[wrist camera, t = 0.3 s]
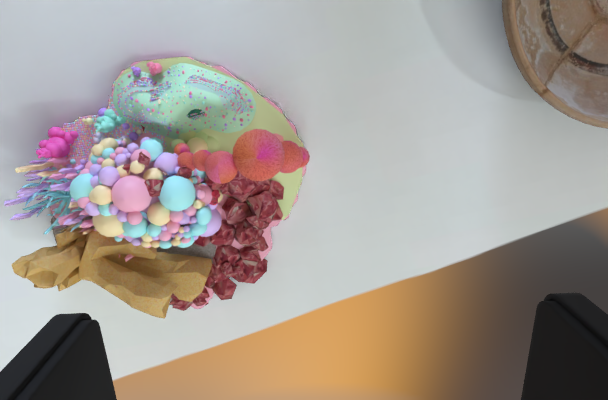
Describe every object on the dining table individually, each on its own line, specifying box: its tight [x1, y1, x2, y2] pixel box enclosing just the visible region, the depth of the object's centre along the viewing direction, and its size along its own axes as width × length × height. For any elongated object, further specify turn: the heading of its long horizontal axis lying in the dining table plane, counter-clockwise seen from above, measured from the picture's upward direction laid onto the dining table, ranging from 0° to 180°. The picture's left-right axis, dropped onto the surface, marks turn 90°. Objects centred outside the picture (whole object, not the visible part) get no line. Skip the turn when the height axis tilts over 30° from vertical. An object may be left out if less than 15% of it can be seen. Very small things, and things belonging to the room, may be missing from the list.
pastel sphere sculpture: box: [4, 57, 310, 318], centre depth 35 cm, size 25×24×9 cm
